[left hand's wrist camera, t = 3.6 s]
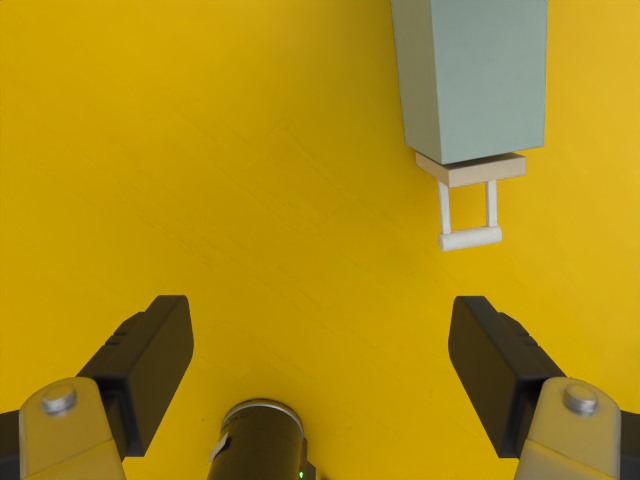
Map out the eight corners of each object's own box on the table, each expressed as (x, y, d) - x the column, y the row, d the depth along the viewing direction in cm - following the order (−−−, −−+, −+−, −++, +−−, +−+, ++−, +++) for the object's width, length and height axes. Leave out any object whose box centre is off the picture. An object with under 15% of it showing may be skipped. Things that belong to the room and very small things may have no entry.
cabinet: (475, 131, 33) (544, 146, 23) (404, 144, 33) (442, 164, 23) (465, -135, 26) (554, -277, 16) (378, -115, 27) (413, -242, 17)
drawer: (475, 221, 34) (525, 260, 26) (422, 230, 35) (454, 272, 26) (463, -89, 26) (529, -175, 18) (393, -74, 27) (427, -151, 18)
